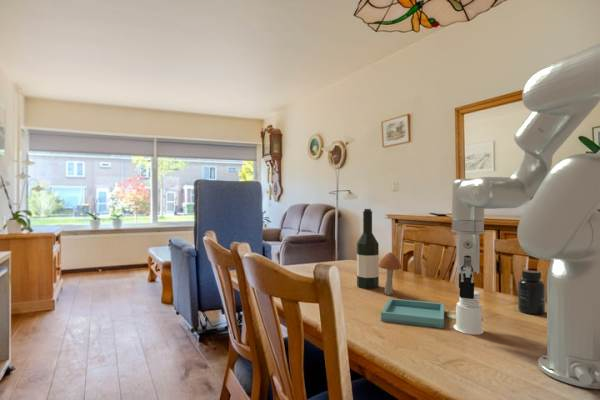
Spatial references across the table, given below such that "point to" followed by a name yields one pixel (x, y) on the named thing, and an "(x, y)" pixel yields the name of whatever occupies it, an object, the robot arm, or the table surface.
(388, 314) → the tray
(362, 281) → the wine bottle
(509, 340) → the table surface
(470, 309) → the downlight
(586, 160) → the robot arm
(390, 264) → the mushroom
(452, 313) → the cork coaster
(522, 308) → the supplement bottle
